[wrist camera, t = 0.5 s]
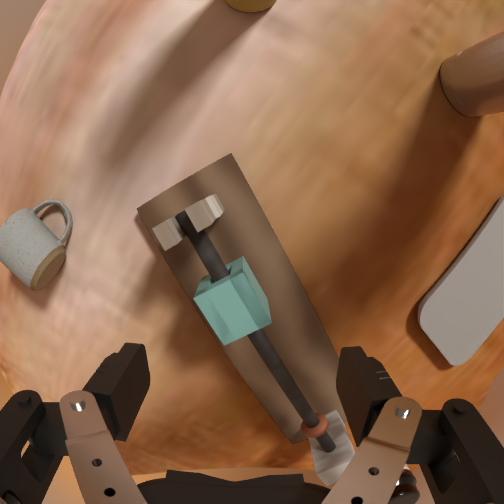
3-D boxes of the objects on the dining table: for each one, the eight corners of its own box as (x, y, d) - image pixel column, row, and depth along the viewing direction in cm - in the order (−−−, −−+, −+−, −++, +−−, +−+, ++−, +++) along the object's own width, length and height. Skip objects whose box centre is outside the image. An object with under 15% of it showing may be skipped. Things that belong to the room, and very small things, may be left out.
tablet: (535, 252, 37) (543, 255, 35) (449, 365, 41) (456, 372, 39) (504, 181, 34) (514, 182, 32) (404, 310, 38) (412, 316, 36)
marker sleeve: (243, 255, 30) (242, 272, 25) (267, 298, 31) (271, 322, 26) (202, 277, 30) (193, 298, 25) (227, 318, 31) (224, 345, 26)
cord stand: (231, 154, 33) (225, 140, 22) (362, 408, 41) (387, 459, 30) (140, 207, 34) (96, 220, 23) (292, 439, 42) (302, 494, 31)
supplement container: (398, 436, 44) (422, 482, 32) (403, 462, 46) (423, 503, 34) (344, 460, 44) (360, 510, 33) (355, 483, 47) (370, 527, 35)
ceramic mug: (55, 284, 36) (24, 304, 28) (18, 247, 35) (-16, 260, 27) (89, 222, 34) (57, 232, 27) (48, 185, 33) (13, 187, 26)
